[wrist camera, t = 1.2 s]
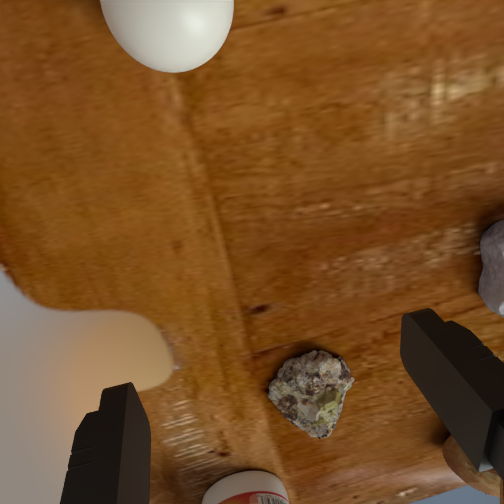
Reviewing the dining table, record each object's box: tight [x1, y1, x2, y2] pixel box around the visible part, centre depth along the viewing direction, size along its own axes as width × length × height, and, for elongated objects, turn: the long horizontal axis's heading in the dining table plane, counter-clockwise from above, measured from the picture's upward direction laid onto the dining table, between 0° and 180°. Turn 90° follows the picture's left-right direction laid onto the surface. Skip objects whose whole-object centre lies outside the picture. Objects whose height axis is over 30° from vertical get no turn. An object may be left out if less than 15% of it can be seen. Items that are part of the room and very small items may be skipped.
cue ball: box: [100, 0, 234, 73], centre depth 19 cm, size 6×6×6 cm
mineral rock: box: [267, 350, 355, 439], centre depth 37 cm, size 11×4×8 cm
